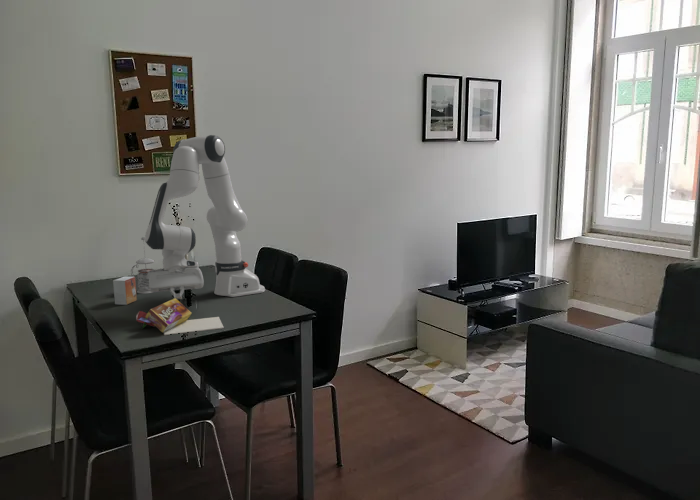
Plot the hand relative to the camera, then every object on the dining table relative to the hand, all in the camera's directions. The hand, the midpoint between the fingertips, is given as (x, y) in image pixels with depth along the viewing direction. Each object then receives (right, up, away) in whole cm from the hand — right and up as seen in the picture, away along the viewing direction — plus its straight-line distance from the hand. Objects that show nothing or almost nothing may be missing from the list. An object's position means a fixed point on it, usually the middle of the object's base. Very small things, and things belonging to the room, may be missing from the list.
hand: (178, 298), depth 216 cm
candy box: (+1, -4, 0) cm, 4 cm away
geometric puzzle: (-9, -10, -7) cm, 15 cm away
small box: (-30, -4, +27) cm, 41 cm away
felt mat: (+7, -9, -6) cm, 14 cm away
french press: (-29, -1, +47) cm, 55 cm away
